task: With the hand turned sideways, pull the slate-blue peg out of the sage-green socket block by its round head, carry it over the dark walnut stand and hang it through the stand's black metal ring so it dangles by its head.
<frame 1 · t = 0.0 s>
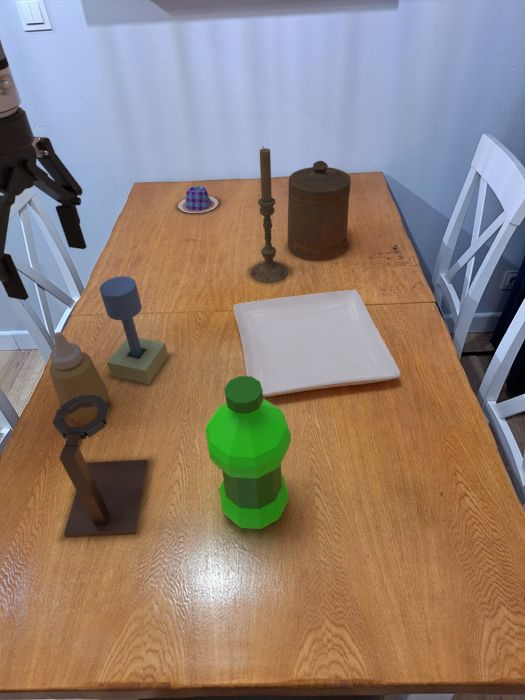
hand: (50, 270, 70), 28 cm above the table, tool pointing down, fingers open, 13 cm apart
peg: (130, 329, 88), in a hole of the socket block
square plate: (309, 350, 97), on the table
wooden container: (316, 248, 126), on the table
pudding: (198, 207, 147), on the table
plastic bottle: (255, 509, 71), on the table
socket block: (140, 367, 95), on the table
peg stand: (108, 505, 73), on the table
candlestick holder: (269, 274, 118), on the table
squeeze bottle: (90, 413, 87), on the table
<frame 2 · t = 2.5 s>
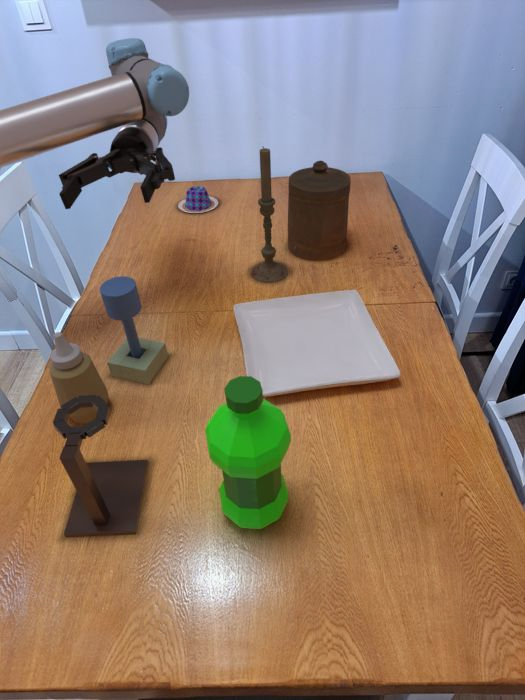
hand: (104, 198, 79), 31 cm above the table, tool horizontal, fingers open, 13 cm apart
nothing on the table moved.
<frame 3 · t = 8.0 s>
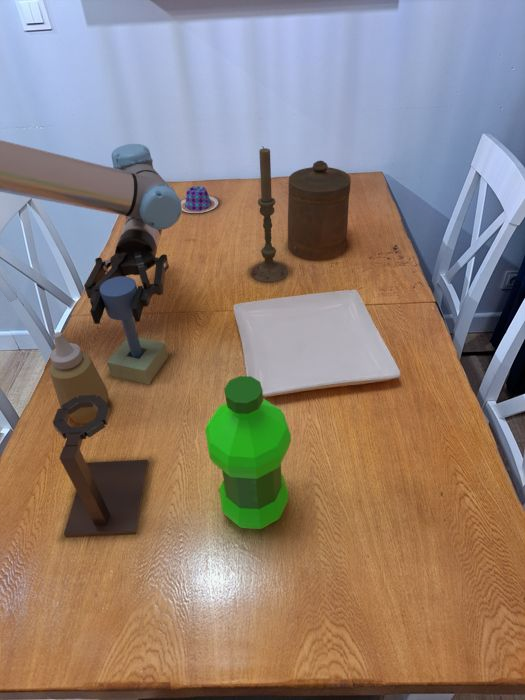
hand: (115, 316, 80), 16 cm above the table, tool horizontal, fingers closed on peg, 6 cm apart
peg: (130, 329, 88), in a hole of the socket block, touching gripper
everything else where it was.
when the fingers open (19 cm above the table, at t = 19.9 s): peg stays where it is, resting on peg stand.
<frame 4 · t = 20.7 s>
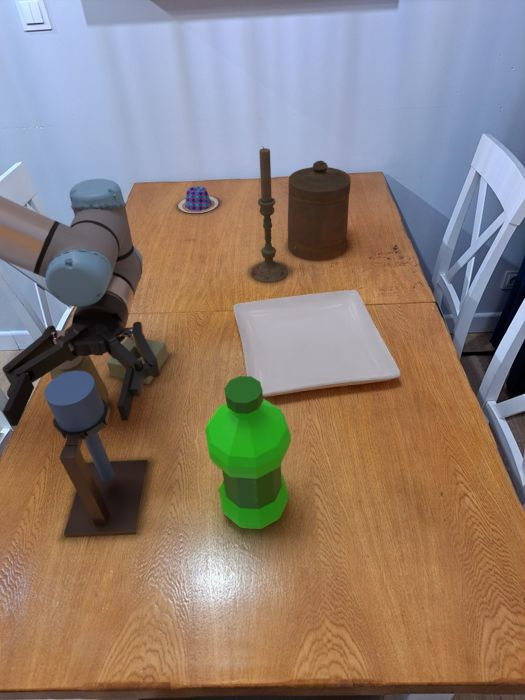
hand: (66, 416, 59), 20 cm above the table, tool horizontal, fingers open, 13 cm apart
peg: (90, 435, 66), point 12 cm above the table, touching peg stand
everything else where it was.
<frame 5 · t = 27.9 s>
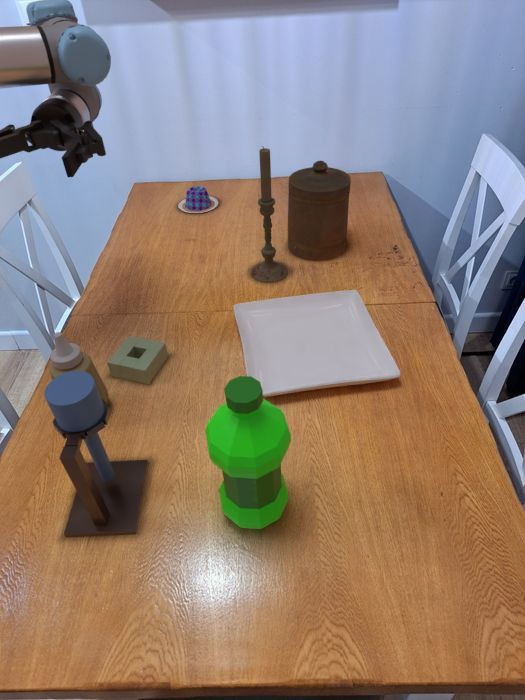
hand: (17, 170, 66), 40 cm above the table, tool horizontal, fingers open, 13 cm apart
nothing on the table moved.
at the end: peg 0.0 cm from the target spot on the peg stand, point 12.5 cm above the peg stand's base; peg tilted 0°; the gripper is holding nothing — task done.
